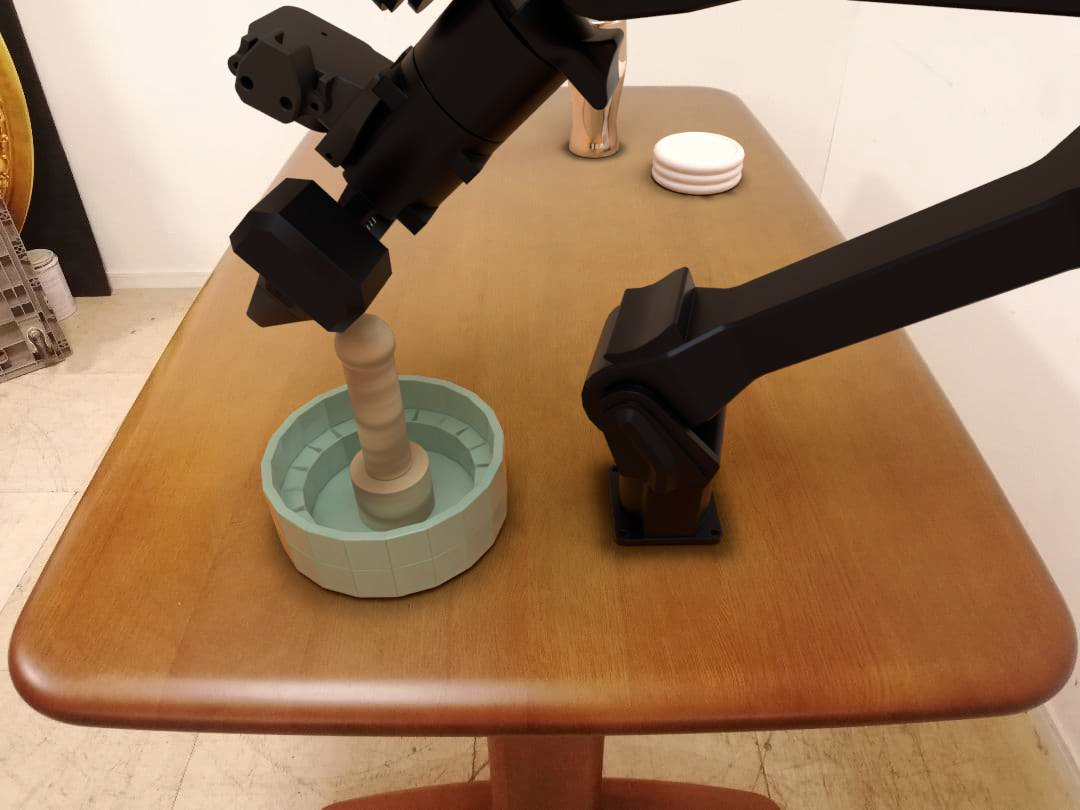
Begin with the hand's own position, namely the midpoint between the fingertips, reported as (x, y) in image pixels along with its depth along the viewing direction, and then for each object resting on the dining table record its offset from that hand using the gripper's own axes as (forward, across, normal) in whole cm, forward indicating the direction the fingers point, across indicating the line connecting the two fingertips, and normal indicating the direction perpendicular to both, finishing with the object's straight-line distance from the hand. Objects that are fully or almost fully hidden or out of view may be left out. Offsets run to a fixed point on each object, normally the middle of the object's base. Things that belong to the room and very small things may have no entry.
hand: (294, 276), depth 45 cm
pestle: (+6, +4, +14) cm, 15 cm away
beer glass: (+4, -57, +16) cm, 59 cm away
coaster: (-5, -51, +25) cm, 57 cm away
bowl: (+6, +4, +14) cm, 16 cm away
